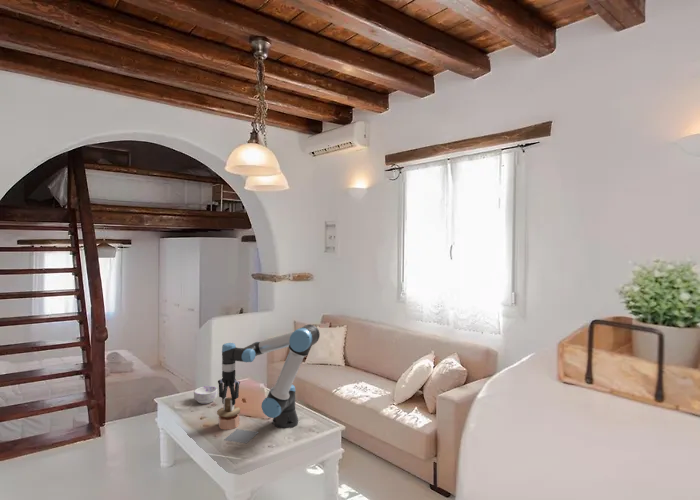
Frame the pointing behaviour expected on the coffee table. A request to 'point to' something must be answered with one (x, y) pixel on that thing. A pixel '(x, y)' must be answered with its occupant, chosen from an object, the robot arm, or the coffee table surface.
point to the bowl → (229, 422)
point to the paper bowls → (205, 394)
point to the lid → (228, 409)
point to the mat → (241, 436)
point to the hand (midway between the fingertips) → (228, 409)
